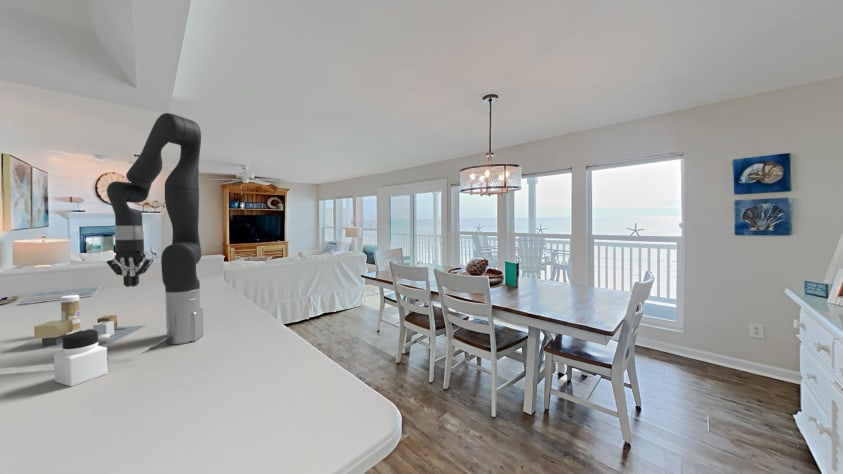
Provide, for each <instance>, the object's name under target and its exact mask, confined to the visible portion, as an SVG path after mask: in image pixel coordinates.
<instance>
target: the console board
mask: <svg viewBox="0 0 843 474" xmlns="http://www.w3.org/2000/svg"><path fill="white" fill-rule="evenodd" d="M146 326H147V325H145V324H144V325H133V326H131V325H130V326H117V328H115V329H114V335H112V336H110V334H102V335H99V336H98V345H97V346H100V345H110V344H111V345H112V344H113V343H115V342H116V341H119V340H121V339H122V338H124V337H127V336H128V335H131V334H132V333H134V332H137V331H138V330H140V329H143V328H144V327H146ZM88 329H89V328H86V329H79V330H78V329H77V331H80V330H88ZM90 329H91V330H93V328H90ZM65 335H67V334H64V335H62V336H59V337H54V338H41V343H42V344H41V345H38V346H35V347H33V348H30V350H42V349H56V348H59V349H60V348H63V341H62V338H63V337H64V336H65Z"/></svg>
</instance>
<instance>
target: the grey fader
mask: <svg viewBox="0 0 843 474" xmlns="http://www.w3.org/2000/svg"><path fill="white" fill-rule="evenodd" d="M92 329H93V330H96V331H98V336H99V335H102V334H110V336H112V335H114V321H107V322H100V323H98V322H97V323H95V324H93V325H92Z"/></svg>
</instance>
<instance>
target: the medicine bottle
mask: <svg viewBox="0 0 843 474" xmlns="http://www.w3.org/2000/svg"><path fill="white" fill-rule="evenodd" d="M87 329H88V330H82V329H79V330H80V331H78V330H76V331H72V332H70V333H67V334H66V335H65V336H64V337H63V338H62V341H63V347H62V352H61V351H60V352H58V353H55V354H54V355H53V365H54V381H55V383H58V384H62V385H64V386H68V387H74V386H76V385H81V384H83V383H85V382H89V381H91V380H94V379H97V378H99V377H102V376H105V375H108V374H109V361H108V359H109V358H108V356H109V355H108V347H106V346H100V345H98V331H96V330H91V329H92V328H87Z"/></svg>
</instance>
